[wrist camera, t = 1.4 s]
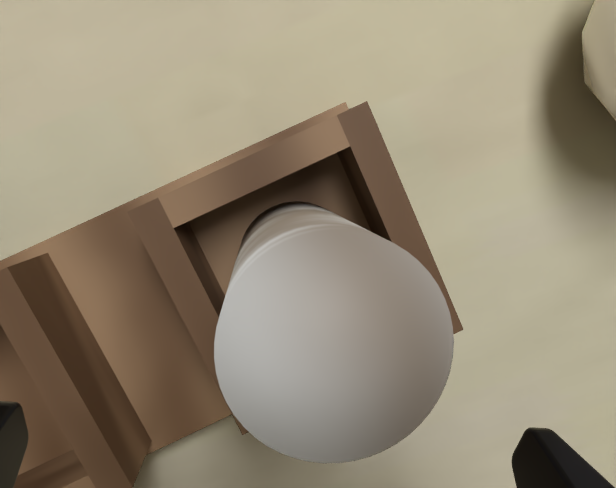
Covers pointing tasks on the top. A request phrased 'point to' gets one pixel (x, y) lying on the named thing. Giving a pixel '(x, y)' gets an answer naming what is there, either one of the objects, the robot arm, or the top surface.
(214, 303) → the caddy
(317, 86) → the top surface
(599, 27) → the potion bottle
